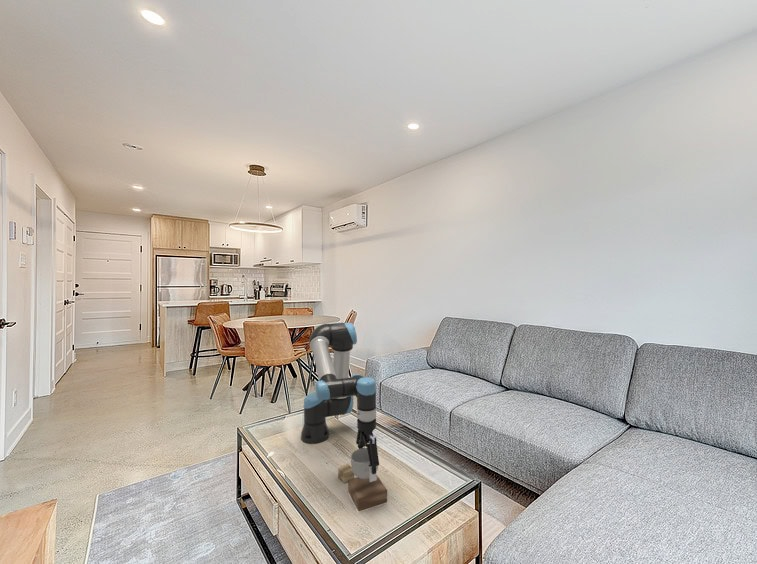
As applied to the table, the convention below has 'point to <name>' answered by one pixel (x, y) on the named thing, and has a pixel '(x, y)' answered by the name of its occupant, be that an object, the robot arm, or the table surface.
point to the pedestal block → (367, 493)
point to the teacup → (360, 463)
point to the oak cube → (345, 473)
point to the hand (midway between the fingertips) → (367, 472)
